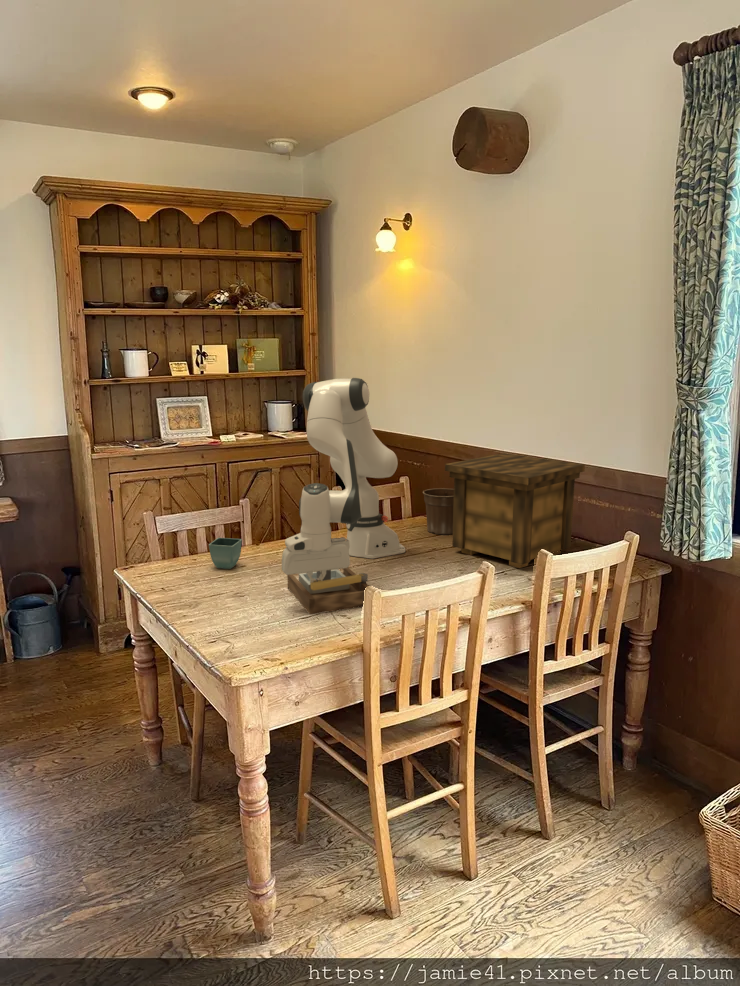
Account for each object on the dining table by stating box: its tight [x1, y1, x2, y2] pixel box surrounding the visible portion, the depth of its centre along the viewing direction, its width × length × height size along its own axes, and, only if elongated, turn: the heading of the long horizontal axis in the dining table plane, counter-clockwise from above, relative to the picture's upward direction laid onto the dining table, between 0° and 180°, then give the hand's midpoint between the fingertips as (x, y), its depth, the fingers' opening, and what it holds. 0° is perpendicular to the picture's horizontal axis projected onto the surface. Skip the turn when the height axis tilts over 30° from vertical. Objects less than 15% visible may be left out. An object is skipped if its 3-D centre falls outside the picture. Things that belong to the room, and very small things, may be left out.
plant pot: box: [422, 487, 454, 536], centre depth 303 cm, size 16×16×16 cm
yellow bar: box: [311, 572, 369, 591], centre depth 225 cm, size 18×3×2 cm, turn 119°
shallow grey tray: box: [298, 569, 349, 594], centre depth 234 cm, size 13×11×8 cm
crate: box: [444, 452, 586, 569], centre depth 272 cm, size 35×35×33 cm
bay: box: [287, 567, 370, 615], centre depth 230 cm, size 20×24×5 cm
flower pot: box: [208, 537, 243, 570], centre depth 257 cm, size 9×9×9 cm
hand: (316, 584), depth 223 cm, fingers closed
